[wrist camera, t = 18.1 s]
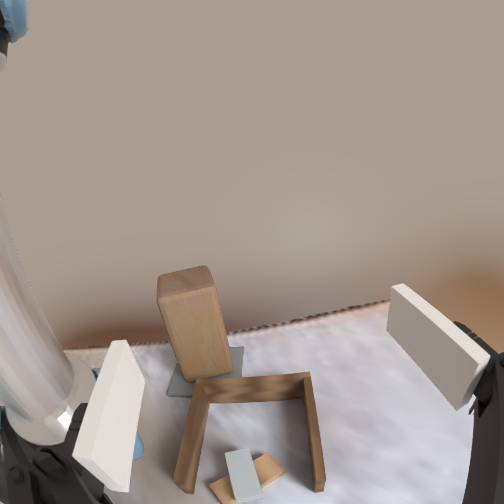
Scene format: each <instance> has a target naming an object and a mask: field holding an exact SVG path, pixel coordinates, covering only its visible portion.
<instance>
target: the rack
mask: <svg viewBox="0 0 504 504" xmlns="http://www.w3.org/2000/svg"><path fill="white" fill-rule="evenodd" d="M297 398H304V404H305V412H306V420H307V428H308V437H309V445H310V454H311V464H312V473H313V483H314V493H315V492H322V491H323V490H324V485H325V481H326V474H325V467H324V459H323V452H322V445H321V438H320V432H319V425H318V419H317V412H316V406H315V400H314V394H313V388H312V382H311V376H310V372H303V373H294V374H284V375H273V376H260V377H244V378H220V379H197V380H196V384H195V388H194V392H193V396H192V400H191V405H190V409H189V413H188V417H187V421H186V425H185V429H184V434H183V438H182V442H181V446H180V451H179V455H178V459H177V464H176V468H175V472H174V477H173V481H174V482H175V483H176V484H177V485H178V486H179V487H180V488H181V489H182V490H183V491H184V492H185V493H188V494H194V488H195V482H196V477H197V471H198V465H199V459H200V454H201V448H202V442H203V437H204V431H205V426H206V420H207V415H208V409H209V404H210V403H244V402H263V401H277V400H288V399H297Z"/></svg>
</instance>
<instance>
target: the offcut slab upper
mask: <svg viewBox="0 0 504 504" xmlns="http://www.w3.org/2000/svg"><path fill="white" fill-rule="evenodd" d="M225 458H226V462H227V467H228V471H229V475H230V479H231V484H232V488H233V492H234V496H235V499H236V501H237V502H238V503H243V502H249V501H253V500H258V499H262V498H264V496H263V492H262V489H261V486H260V483H259V480H258V476H257V473H256V470H255V467H254V463H253V460H252V457H251V453H250V450H249V448H245V449H240V450H236V451H231V452H225Z"/></svg>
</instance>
